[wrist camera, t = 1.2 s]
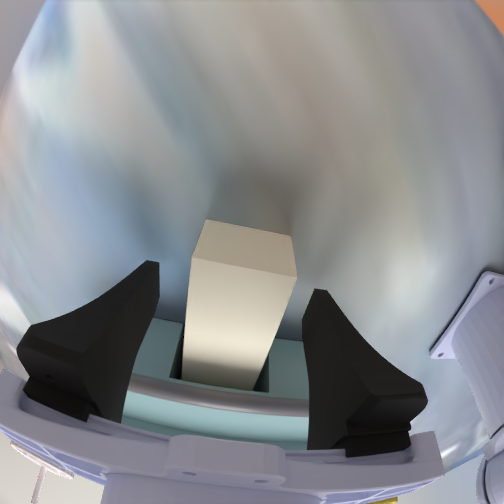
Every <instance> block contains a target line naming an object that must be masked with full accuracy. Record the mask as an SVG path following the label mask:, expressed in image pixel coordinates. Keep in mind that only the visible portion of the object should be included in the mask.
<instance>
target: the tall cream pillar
mask: <svg viewBox="0 0 504 504" xmlns="http://www.w3.org/2000/svg"><path fill="white" fill-rule="evenodd" d="M297 278H298V277H297V271H296V264H295V258H294V252H293V245H292V239H291V236H288V235H283V234H278V233H274V232H269V231H264V230H259V229H254V228H249V227H244V226H239V225H234V224H229V223H224V222H219V221H213V220H208V219H206V221H205V224H204V226H203V229H202V231H201V234H200V237H199V239H198V242H197V245H196V247H195V250H194V253H193V256H192V261H191V270H190V279H189V289H188V299H187V310H186V322H185V334H184V348H183V363H182V380H183V381H188V382H193V383H199V384H205V385H211V386H217V387H224V388H231V389H238V390H246V391H252V390H253V388H254V386H255V383H256V381H257V379H258V376H259V374H260V371H261V369H262V367H263V364H264V362H265V359H266V357H267V355H268V352H269V350H270V347H271V345H272V342H273V340H274V337H275V335H276V332H277V330H278V327H279V325H280V322H281V320H282V317H283V315H284V312H285V310H286V307H287V304H288V302H289V299H290V296H291V294H292V291H293V289H294V286H295V283H296V281H297Z"/></svg>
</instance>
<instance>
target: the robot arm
mask: <svg viewBox="0 0 504 504" xmlns="http://www.w3.org/2000/svg"><path fill="white" fill-rule="evenodd" d="M159 297H160V291H159V262H154V261H148V260H147V261H145V262H144V263H143V264H141V265H140V266H139V267H138V268H137V269H135V270H134V271H133V272H132V273H131V274H129V275H128V276H127V277H126V278H124V279H123V280H122V281H121V282H119V283H118V284H117V285H115V286H114V287H113V288H111V289H110V290H109V291H107V292H106V293H104V294H103V295H101V296H100V297H98V298H97V299H95V300H93V301H91V302H90V303H88V304H86V305H84V306H82V307H80V308H78V309H76V310H74V311H72V312H70V313H67V314H65V315H62V316H60V317H57V318H54V319H51V320H48V321H44V322H41V323H37V324H34V325H31V326H30V327H29V329H28V330H27V332H26V333H25V335H24V336H23V338H22V340H21V341H20V343H19V344H18V346H17V348H16V350H17V355H18V357H19V360H20V361H21V363H22V365H23V366H24V368H25V370H26V371H27V373H28V375H29V376H30V377H29V379H28V381H27V382H26V381H25V380H24V379H23V378H21V377H19V376H17V375H16V374H14V373H12V372H10V371H8V370H6V369H3V370H2V371H1V373H0V431H1V432H2V433H3V434H4V435H5V436H6V437H8V438H9V439H11V440H13V441H14V442H16V443H18V444H19V445H21V446H23V447H25V448H26V449H28V450H30V451H32V452H33V453H35V454H37V455H39V456H41V457H43V458H45V459H46V460H48V461H50V462H52V463H54V464H56V465H58V466H60V467H62V468H64V469H66V470H68V471H71V472H73V473H75V474H77V475H79V476H82V477H84V478H86V479H89V480H91V481H94V482H96V483H99V484H101V485H104V486H105V487H104V491H103V495H102V500H101V504H366V503H371V502H375V501H380V500H384V499H388V498H392V497H396V496H400V495H404V494H407V493H411V492H414V491H416V490H418V489H420V488H422V487H424V486H426V485H428V484H430V483H432V482H434V481H436V480H437V479H439V478H441V477H443V476H444V475H445V470H444V466H443V462H442V458H441V455H440V451H439V447H438V444H437V440H436V437H435V433H434V431H429V432H423V433H418V434H414V435H412V436H410V437H409V433H408V431H409V430H411V424H410V421H412V420H413V419H414V418H415V417H416V416H417V415H418V414H420V413H421V412H422V411H423V409H424V408H425V407H426V405H427V403H428V399H427V396H426V393H425V390H424V388H423V385H422V384H421V383H420V382H418V381H416V380H415V379H413V378H411V377H409V376H408V375H406V374H405V373H403V372H402V371H400V370H399V369H398V368H396V367H395V366H393V365H392V364H391V363H390V362H388V361H387V360H386V359H385V358H384V357H382V356H381V355H380V354H379V353H378V352H377V351H376V350H375V349H374V348H373V347H372V346H371V345H370V344H369V343H368V342H367V341H366V340H365V339H364V338H363V337H362V336H361V335H360V334H359V332H358V331H357V330H356V329H355V328H354V326H353V325H352V324H351V323H350V321H349V320H348V319H347V317H346V316H345V315H344V313H343V312H342V311H341V309H340V308H339V306H338V305H337V304H336V302H335V301H334V299H333V298H332V297H331V295H330V294H329V293H328V291H327V290H321V289H314V291H313V294H312V296H311V299H310V301H309V304H308V306H307V309H306V311H305V314H304V316H303V319H302V339H303V346H304V353H305V359H306V366H307V373H308V381H309V426H308V441H307V450H284V449H282V448H280V447H278V446H276V445H271V444H265V443H253V442H242V441H232V440H224V439H217V438H209V437H203V436H196V435H178V436H174V437H172V436H167V435H162V434H158V433H154V432H150V431H145V430H142V429H138V428H134V427H130V426H127V425H123V424H121V421H122V415H123V409H124V404H125V399H126V394H127V390H128V386H129V382H130V378H131V374H132V370H133V366H134V363H135V359H136V356H137V354H138V351H139V349H140V346H141V344H142V342H143V339H144V337H145V335H146V332H147V330H148V328H149V325H150V323H151V321H152V319H153V316H154V314H155V310H156V307H157V304H158V300H159ZM429 355H430V358H431V359H448V358H457V360H458V362H459V364H460V367H461V369H462V371H463V373H464V375H465V378H466V380H467V382H468V384H469V387H470V389H471V391H472V394H473V396H474V398H475V401H476V403H477V406H478V408H479V411H480V414H481V416H482V419H483V421H484V424H485V427H486V430H487V433H488V435H489V438H490V439H491V440H490V441H489V442H488V443H486V444H485V445H484V446H483V451H484V454H485V456H484V458H483V459H482V461H481V463H480V466H479V469H478V473H477V481H476V495H477V500H478V503H479V504H504V275H502V274H498V273H494V272H490V271H486V272H484V273H483V274H482V275H481V277H480V278H479V280H478V282H477V284H476V285H475V287H474V289H473V290H472V292H471V294H470V295H469V297H468V298H467V300H466V302H465V303H464V305H463V306H462V308H461V309H460V311H459V312H458V314H457V315H456V317H455V318H454V320H453V321H452V323H451V324H450V325H449V327H448V328H447V330H446V331H445V332H444V334H443V335H442V337H441V338H440V339H439V341H438V342H437V343H436V345H435V346H434V347H433V348H432V350H431V351H430V353H429Z"/></svg>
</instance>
